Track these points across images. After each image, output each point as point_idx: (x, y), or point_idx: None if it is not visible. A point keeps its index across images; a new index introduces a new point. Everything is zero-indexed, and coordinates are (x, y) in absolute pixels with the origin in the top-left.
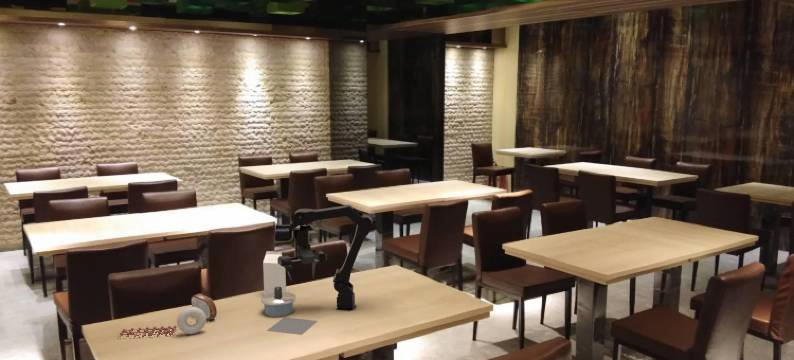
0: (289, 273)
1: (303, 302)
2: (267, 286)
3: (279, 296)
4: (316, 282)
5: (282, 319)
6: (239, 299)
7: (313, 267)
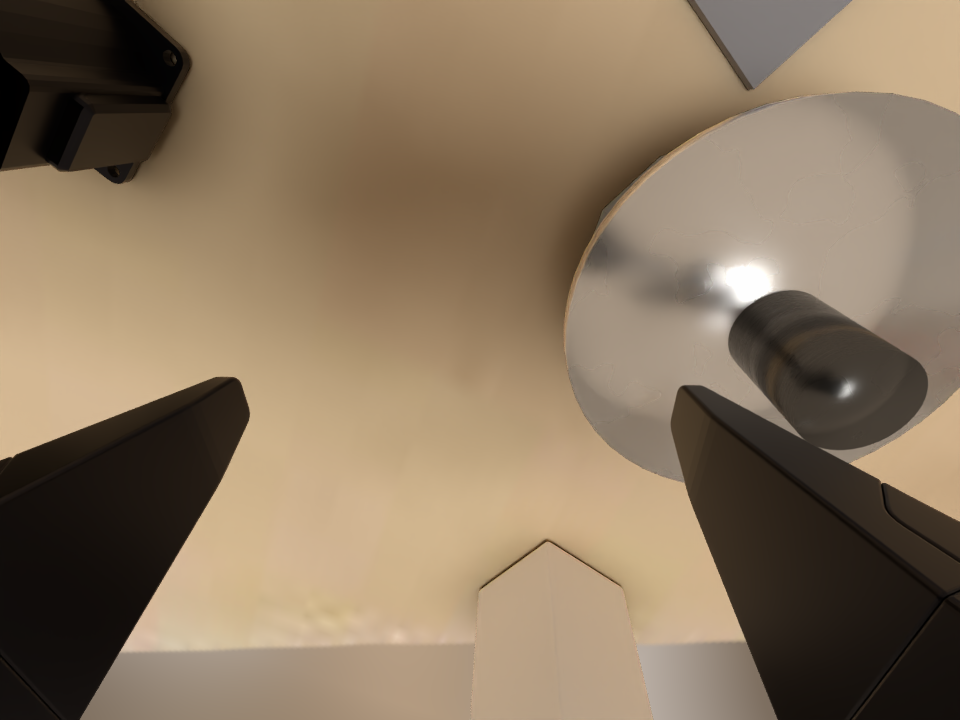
0: (916, 500)
1: (432, 397)
2: (620, 646)
3: (805, 300)
4: (272, 634)
5: (813, 18)
6: None
7: (75, 589)
